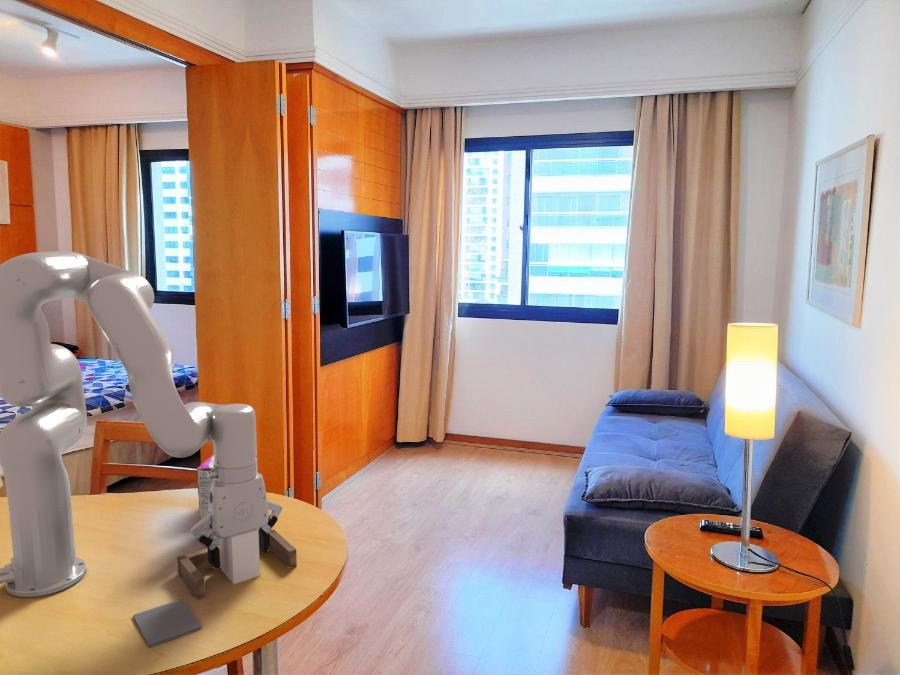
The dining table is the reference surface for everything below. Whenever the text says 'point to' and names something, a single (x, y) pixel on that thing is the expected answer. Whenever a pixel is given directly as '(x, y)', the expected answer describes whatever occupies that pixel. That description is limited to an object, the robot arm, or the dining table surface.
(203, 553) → the frame
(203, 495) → the candy bar box
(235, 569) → the white box
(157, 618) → the rubber mat
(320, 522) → the dining table surface
